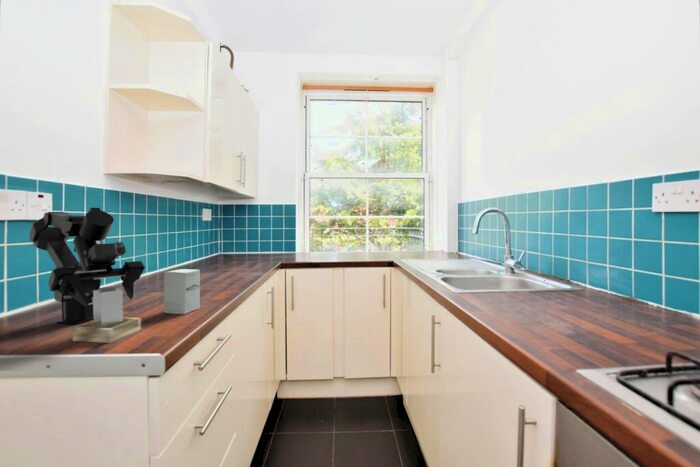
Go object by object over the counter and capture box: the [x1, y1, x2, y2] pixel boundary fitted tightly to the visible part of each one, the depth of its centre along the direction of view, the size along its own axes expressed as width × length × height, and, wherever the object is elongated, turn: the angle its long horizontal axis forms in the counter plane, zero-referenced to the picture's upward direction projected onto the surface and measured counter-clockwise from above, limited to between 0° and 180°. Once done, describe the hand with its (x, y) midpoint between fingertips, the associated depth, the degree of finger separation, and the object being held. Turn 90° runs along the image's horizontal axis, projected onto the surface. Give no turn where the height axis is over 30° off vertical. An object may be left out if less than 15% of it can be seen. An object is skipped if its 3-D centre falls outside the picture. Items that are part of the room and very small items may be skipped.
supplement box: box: [163, 268, 201, 315], centre depth 103 cm, size 7×7×13 cm
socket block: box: [92, 285, 124, 328], centre depth 80 cm, size 4×4×11 cm
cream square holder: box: [72, 316, 142, 344], centre depth 81 cm, size 10×10×3 cm
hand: (110, 301), depth 80 cm, fingers open, 9 cm apart
